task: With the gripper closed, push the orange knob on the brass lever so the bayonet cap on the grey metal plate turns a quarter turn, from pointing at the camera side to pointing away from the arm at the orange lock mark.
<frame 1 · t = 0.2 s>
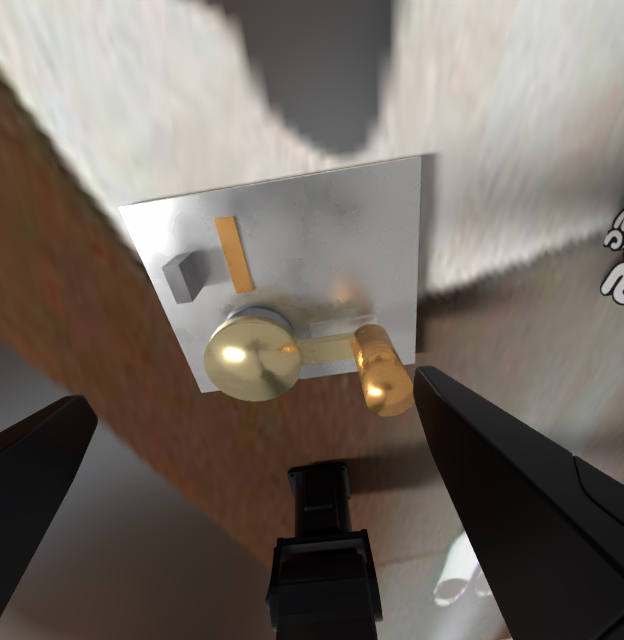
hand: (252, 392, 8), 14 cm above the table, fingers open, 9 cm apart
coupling: (297, 375, 18), point 6 cm above the table, hinge at 0.0°
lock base: (290, 290, 22), on the table
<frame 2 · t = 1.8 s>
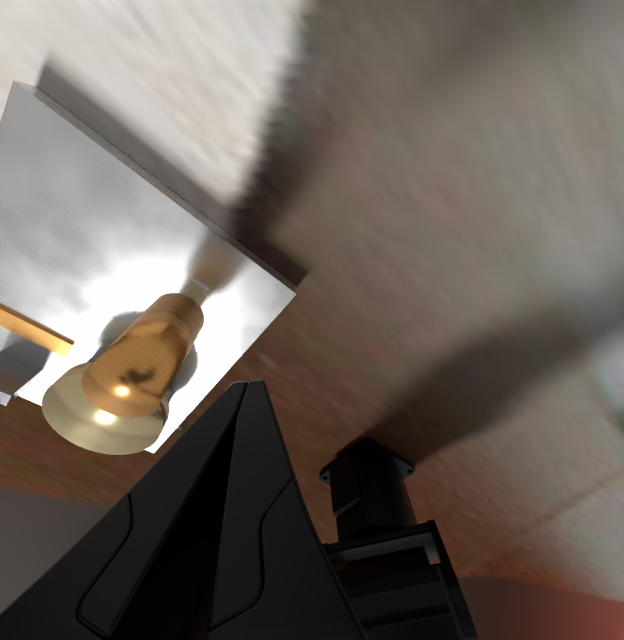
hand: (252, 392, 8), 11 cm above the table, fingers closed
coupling: (109, 410, 14), point 6 cm above the table, hinge at 0.0°
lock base: (116, 317, 19), on the table
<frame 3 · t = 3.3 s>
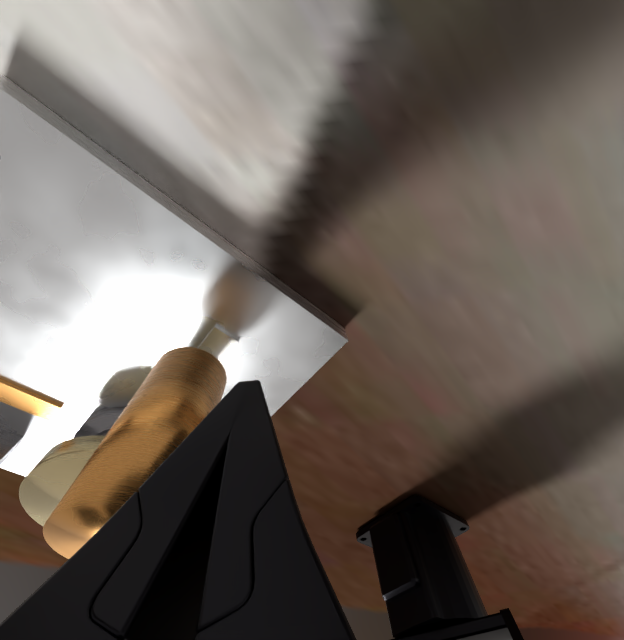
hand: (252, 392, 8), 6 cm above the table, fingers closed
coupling: (104, 513, 11), point 6 cm above the table, hinge at 2.9°, touching gripper
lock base: (117, 368, 15), on the table
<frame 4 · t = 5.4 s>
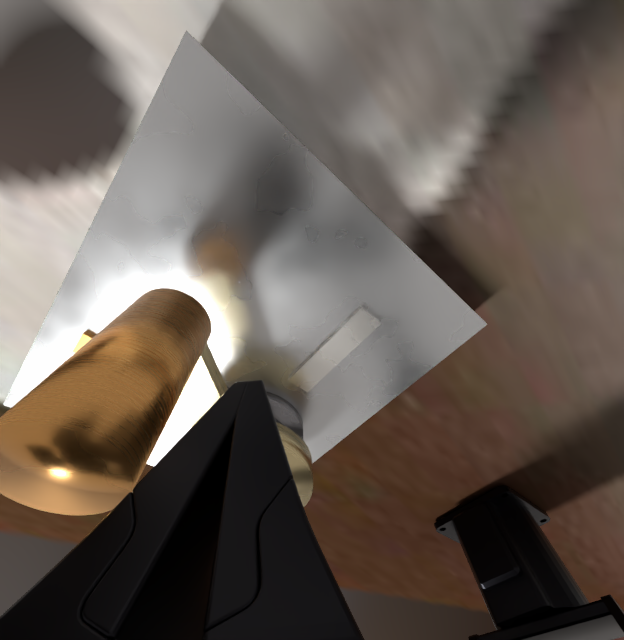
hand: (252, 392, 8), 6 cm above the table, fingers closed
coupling: (204, 484, 10), point 6 cm above the table, hinge at 51.7°, touching gripper
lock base: (239, 351, 15), on the table
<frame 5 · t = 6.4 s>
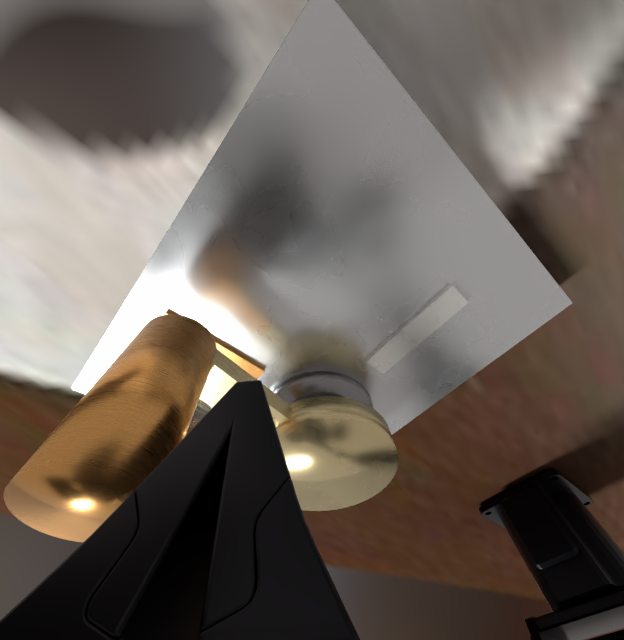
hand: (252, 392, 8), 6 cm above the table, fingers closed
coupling: (273, 476, 10), point 6 cm above the table, hinge at 81.6°, touching gripper
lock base: (312, 333, 15), on the table
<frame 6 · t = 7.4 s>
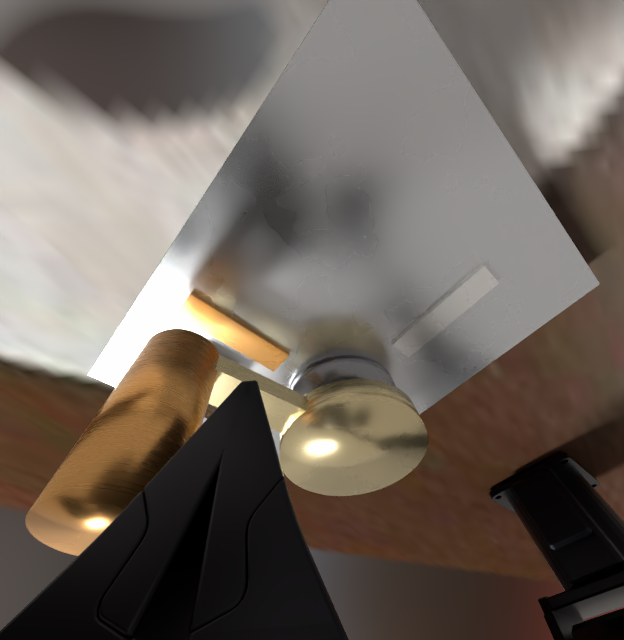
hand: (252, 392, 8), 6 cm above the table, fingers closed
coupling: (297, 469, 10), point 6 cm above the table, hinge at 94.4°, touching gripper
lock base: (336, 316, 14), on the table
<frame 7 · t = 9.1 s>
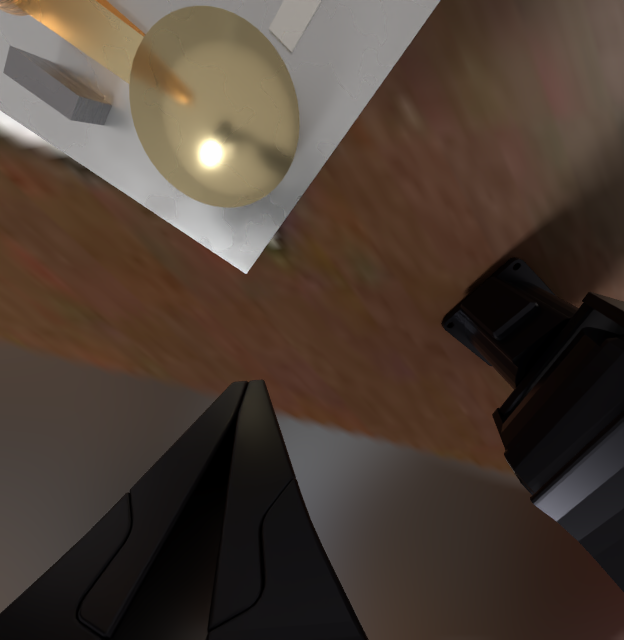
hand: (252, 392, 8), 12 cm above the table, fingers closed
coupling: (112, 47, 9), point 6 cm above the table, hinge at 94.4°
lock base: (214, 18, 13), on the table
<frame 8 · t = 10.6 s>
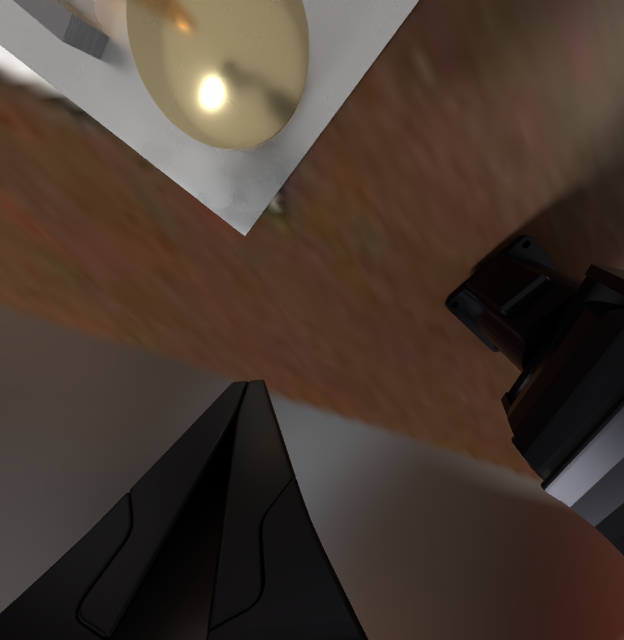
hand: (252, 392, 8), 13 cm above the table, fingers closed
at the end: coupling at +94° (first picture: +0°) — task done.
